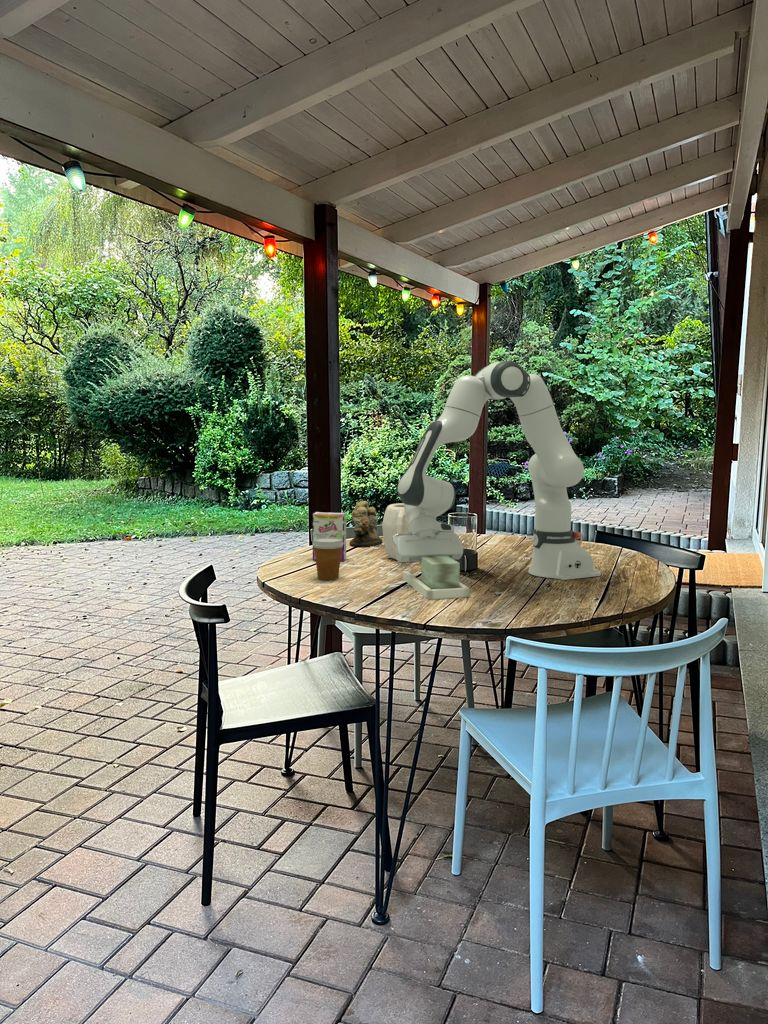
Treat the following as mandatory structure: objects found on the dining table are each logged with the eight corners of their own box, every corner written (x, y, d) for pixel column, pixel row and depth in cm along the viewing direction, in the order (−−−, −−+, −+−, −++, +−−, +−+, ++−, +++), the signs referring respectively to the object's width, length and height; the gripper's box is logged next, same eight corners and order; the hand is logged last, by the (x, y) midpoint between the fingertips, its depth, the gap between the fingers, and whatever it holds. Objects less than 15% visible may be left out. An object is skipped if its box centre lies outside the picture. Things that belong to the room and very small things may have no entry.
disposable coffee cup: (315, 582, 216) (315, 542, 214) (310, 575, 225) (309, 537, 223) (346, 580, 218) (346, 541, 217) (340, 573, 228) (339, 536, 226)
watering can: (432, 551, 266) (432, 500, 263) (421, 565, 240) (422, 509, 237) (390, 549, 269) (391, 499, 266) (376, 563, 243) (376, 508, 240)
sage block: (447, 586, 210) (447, 556, 209) (459, 594, 201) (459, 563, 200) (421, 587, 209) (421, 557, 207) (431, 596, 199) (432, 564, 198)
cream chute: (440, 577, 223) (440, 569, 223) (469, 597, 199) (469, 588, 198) (402, 579, 220) (402, 571, 220) (427, 600, 196) (427, 591, 195)
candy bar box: (312, 561, 247) (311, 513, 245) (315, 558, 252) (314, 511, 250) (344, 561, 246) (344, 514, 244) (346, 559, 251) (346, 512, 249)
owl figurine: (372, 549, 270) (372, 504, 268) (343, 547, 274) (342, 503, 271) (387, 541, 287) (387, 498, 285) (359, 539, 291) (359, 497, 288)
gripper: (393, 527, 213) (401, 567, 205) (458, 525, 218) (469, 563, 209) (389, 540, 218) (397, 578, 209) (453, 537, 222) (463, 575, 214)
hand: (434, 571), depth 209 cm, fingers closed, pressing on sage block
